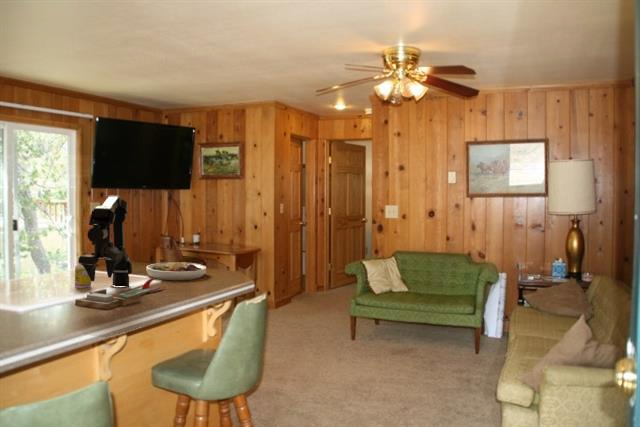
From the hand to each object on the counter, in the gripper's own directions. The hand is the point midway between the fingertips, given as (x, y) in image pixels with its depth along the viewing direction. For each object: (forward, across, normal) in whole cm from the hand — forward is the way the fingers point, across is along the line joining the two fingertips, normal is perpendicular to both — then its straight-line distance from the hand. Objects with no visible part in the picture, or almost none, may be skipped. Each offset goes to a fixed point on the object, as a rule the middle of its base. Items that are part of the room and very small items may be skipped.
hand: (101, 279), depth 202 cm
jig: (+10, +3, 0) cm, 10 cm away
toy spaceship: (+11, +23, 0) cm, 25 cm away
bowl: (+11, +68, +11) cm, 69 cm away
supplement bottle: (+10, +22, +29) cm, 38 cm away
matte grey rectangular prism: (+10, -1, 0) cm, 10 cm away
